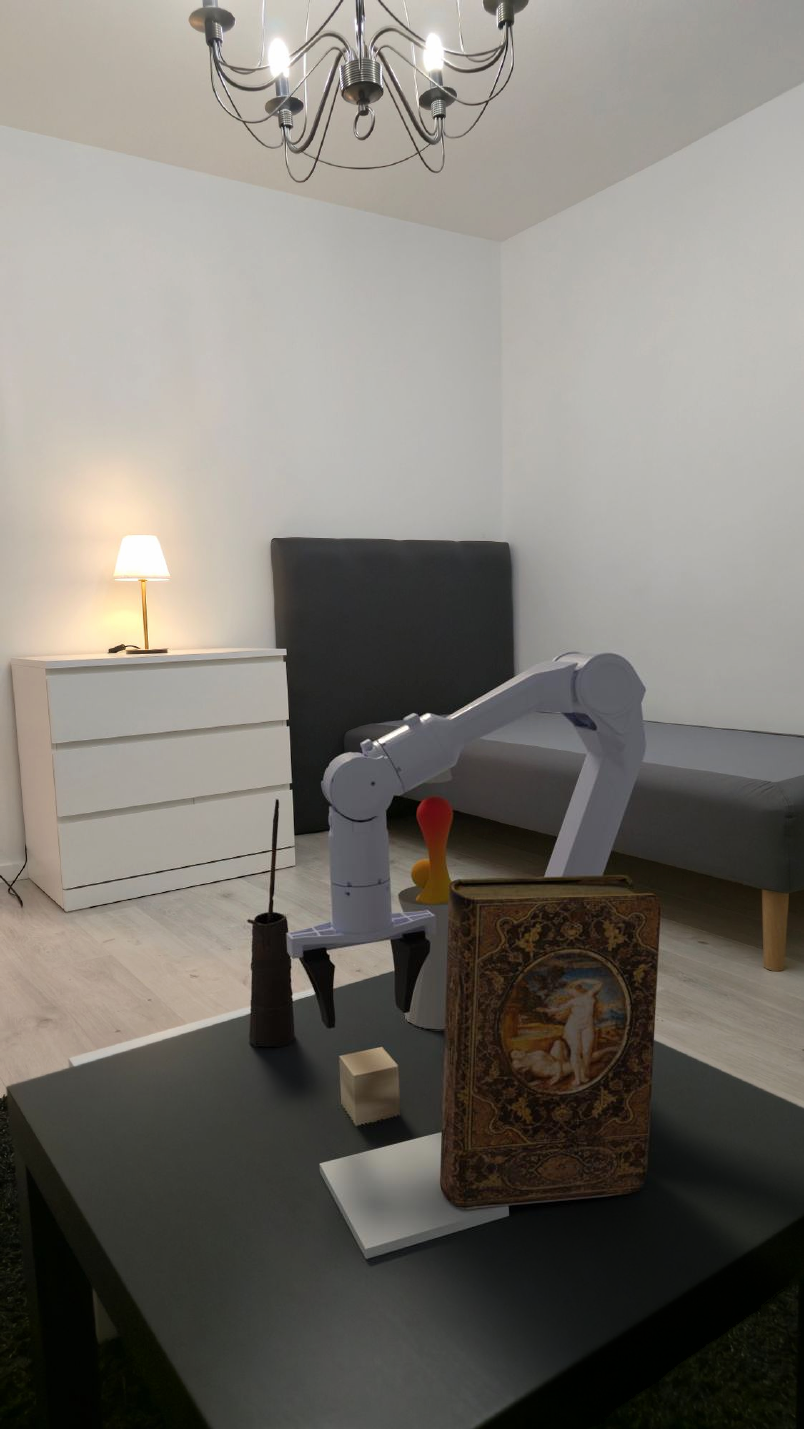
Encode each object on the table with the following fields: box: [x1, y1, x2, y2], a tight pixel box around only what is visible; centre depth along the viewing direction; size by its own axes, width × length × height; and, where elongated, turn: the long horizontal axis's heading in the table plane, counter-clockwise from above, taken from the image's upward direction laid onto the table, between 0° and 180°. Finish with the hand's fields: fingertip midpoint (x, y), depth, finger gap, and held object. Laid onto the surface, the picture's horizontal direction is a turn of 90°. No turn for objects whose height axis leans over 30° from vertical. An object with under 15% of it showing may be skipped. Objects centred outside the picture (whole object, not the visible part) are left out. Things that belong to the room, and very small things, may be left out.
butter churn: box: [246, 798, 296, 1048], centre depth 103 cm, size 9×10×28 cm
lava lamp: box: [397, 768, 454, 1029], centre depth 108 cm, size 9×9×35 cm
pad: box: [319, 1131, 510, 1260], centre depth 75 cm, size 12×12×1 cm
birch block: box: [338, 1046, 401, 1127], centre depth 88 cm, size 4×4×5 cm
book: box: [440, 874, 662, 1210], centre depth 74 cm, size 16×6×25 cm, turn 100°
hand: (366, 1016), depth 88 cm, fingers open, 7 cm apart
